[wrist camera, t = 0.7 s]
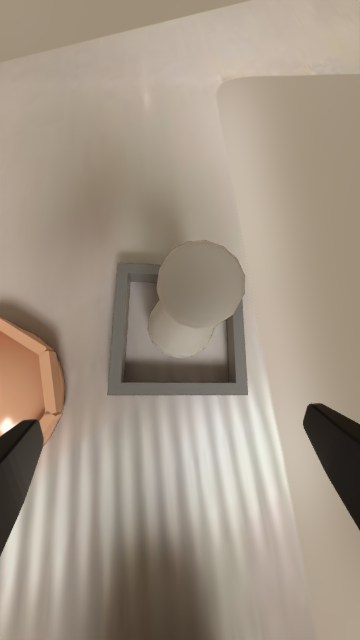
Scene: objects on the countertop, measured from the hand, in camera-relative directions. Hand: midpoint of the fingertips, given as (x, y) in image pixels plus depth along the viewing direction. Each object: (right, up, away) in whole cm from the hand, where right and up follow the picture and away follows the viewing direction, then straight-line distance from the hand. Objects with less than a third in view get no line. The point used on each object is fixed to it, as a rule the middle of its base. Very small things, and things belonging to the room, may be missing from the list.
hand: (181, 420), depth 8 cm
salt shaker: (0, +2, +15) cm, 15 cm away
